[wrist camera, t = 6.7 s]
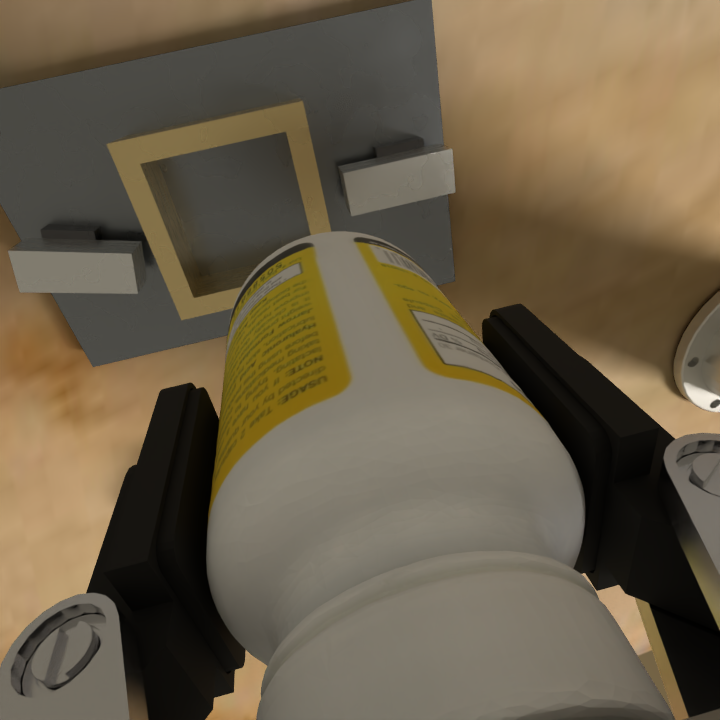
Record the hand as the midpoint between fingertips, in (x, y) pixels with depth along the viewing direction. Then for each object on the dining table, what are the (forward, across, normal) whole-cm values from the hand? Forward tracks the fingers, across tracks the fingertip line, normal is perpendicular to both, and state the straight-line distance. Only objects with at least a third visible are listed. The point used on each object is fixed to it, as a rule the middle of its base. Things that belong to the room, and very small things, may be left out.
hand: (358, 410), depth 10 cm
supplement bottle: (+4, 0, 0) cm, 4 cm away
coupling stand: (+20, +3, 0) cm, 20 cm away
